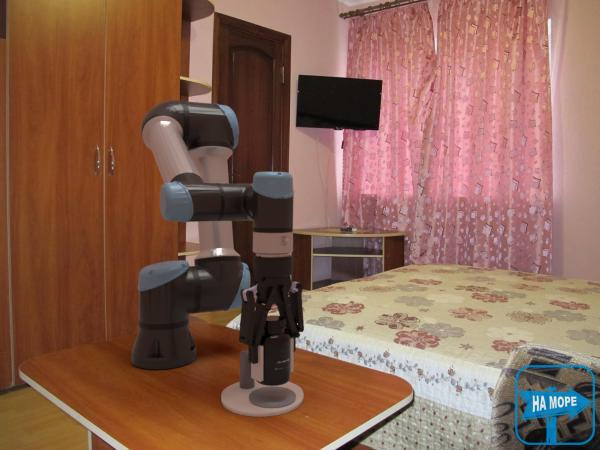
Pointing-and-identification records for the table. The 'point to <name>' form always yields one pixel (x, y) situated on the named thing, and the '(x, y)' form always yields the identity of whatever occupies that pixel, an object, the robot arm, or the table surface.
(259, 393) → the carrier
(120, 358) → the table surface
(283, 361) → the supplement bottle
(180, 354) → the robot arm
